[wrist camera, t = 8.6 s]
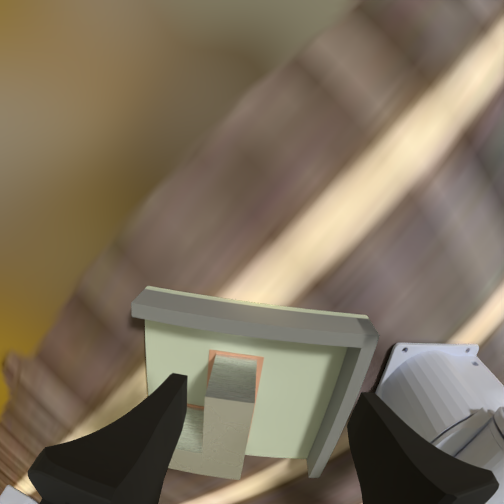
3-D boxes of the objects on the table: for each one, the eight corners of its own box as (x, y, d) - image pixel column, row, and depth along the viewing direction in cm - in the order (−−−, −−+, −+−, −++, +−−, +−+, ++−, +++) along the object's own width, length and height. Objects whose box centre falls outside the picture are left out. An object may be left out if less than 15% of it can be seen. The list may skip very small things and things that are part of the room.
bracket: (243, 437, 24) (239, 479, 20) (166, 424, 24) (152, 464, 20) (257, 358, 22) (254, 403, 17) (163, 344, 22) (141, 383, 17)
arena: (366, 315, 22) (379, 335, 19) (315, 454, 26) (319, 477, 23) (147, 285, 22) (131, 302, 19) (154, 433, 26) (145, 455, 23)
